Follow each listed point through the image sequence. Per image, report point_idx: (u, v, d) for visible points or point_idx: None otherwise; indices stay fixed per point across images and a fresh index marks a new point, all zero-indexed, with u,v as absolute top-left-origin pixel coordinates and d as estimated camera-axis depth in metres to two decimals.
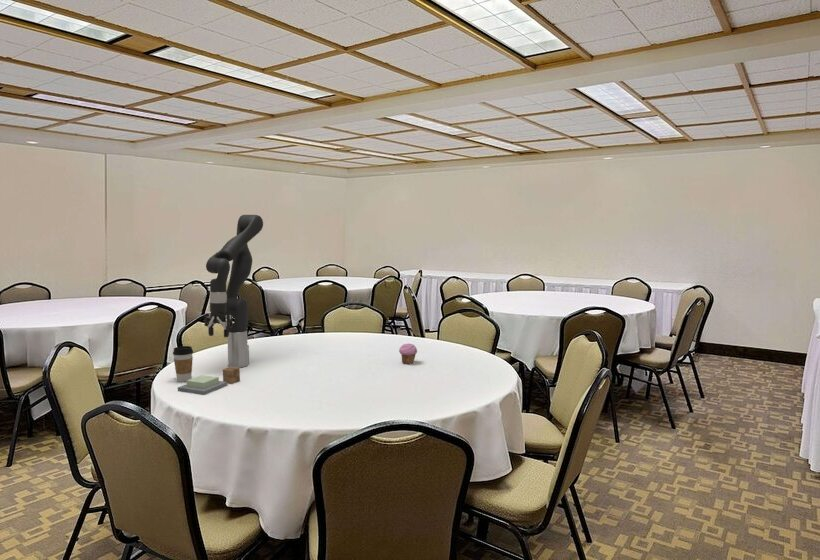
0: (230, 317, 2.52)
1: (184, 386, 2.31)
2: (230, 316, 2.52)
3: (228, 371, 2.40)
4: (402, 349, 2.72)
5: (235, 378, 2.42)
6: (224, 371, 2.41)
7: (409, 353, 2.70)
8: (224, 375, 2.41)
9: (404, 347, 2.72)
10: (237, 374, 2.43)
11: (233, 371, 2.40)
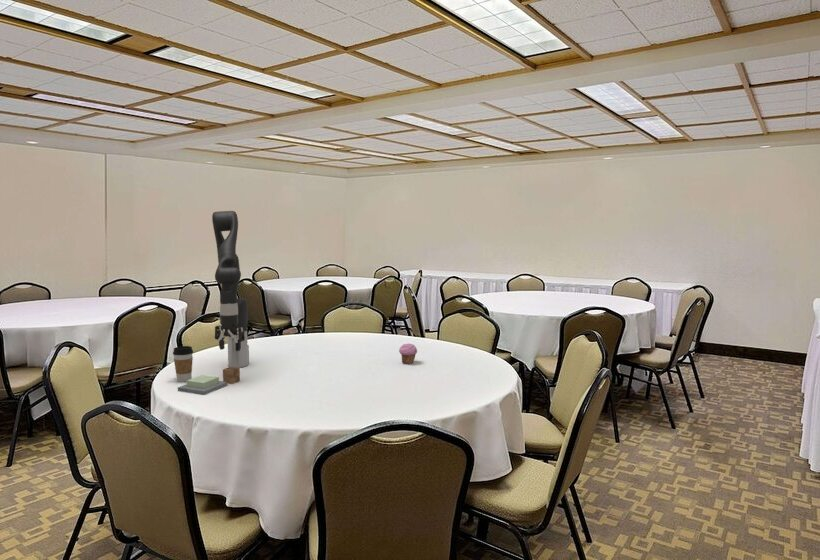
0: (242, 330, 2.38)
1: (184, 386, 2.31)
2: (242, 329, 2.38)
3: (228, 371, 2.40)
4: (402, 349, 2.72)
5: (235, 378, 2.42)
6: (224, 371, 2.41)
7: (409, 353, 2.70)
8: (224, 375, 2.41)
9: (404, 347, 2.72)
10: (237, 374, 2.43)
11: (233, 371, 2.40)
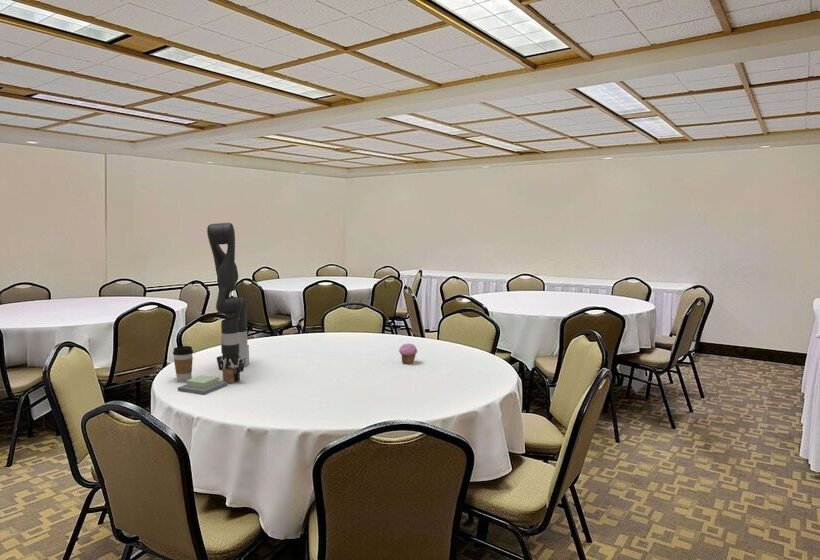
0: (243, 362, 2.40)
1: (184, 386, 2.31)
2: (243, 361, 2.40)
3: (228, 371, 2.40)
4: (402, 349, 2.72)
5: None
6: (224, 371, 2.41)
7: (409, 353, 2.70)
8: (224, 375, 2.41)
9: (404, 347, 2.72)
10: None
11: (233, 371, 2.40)
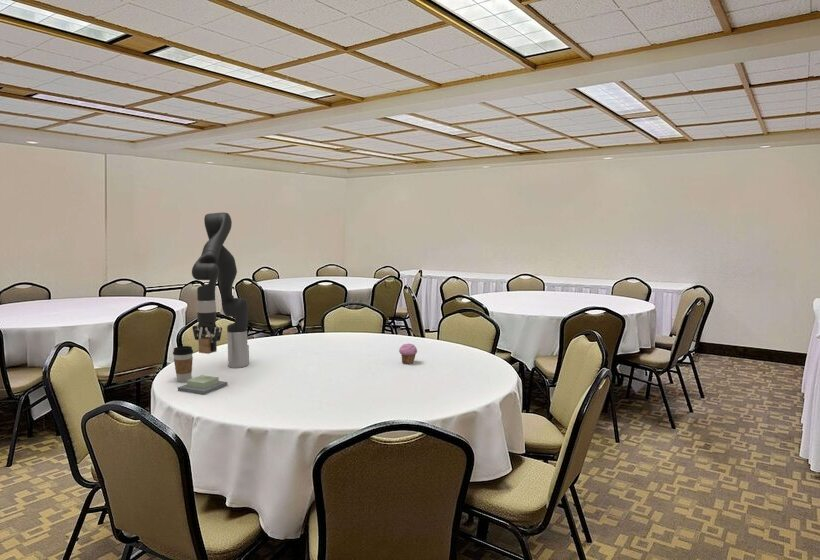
0: (219, 330, 2.30)
1: (184, 386, 2.31)
2: (220, 329, 2.30)
3: (204, 340, 2.31)
4: (402, 349, 2.72)
5: None
6: (200, 340, 2.31)
7: (409, 353, 2.70)
8: (200, 344, 2.32)
9: (404, 347, 2.72)
10: None
11: (209, 340, 2.31)
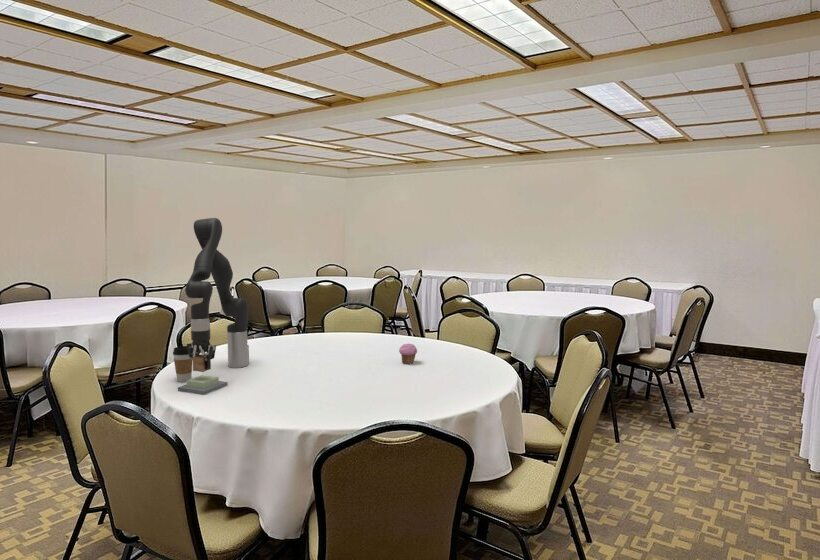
0: (213, 349, 2.30)
1: (184, 386, 2.31)
2: (213, 347, 2.30)
3: (198, 358, 2.30)
4: (402, 349, 2.72)
5: None
6: (194, 358, 2.31)
7: (409, 353, 2.70)
8: (194, 362, 2.31)
9: (404, 347, 2.72)
10: None
11: (203, 358, 2.30)
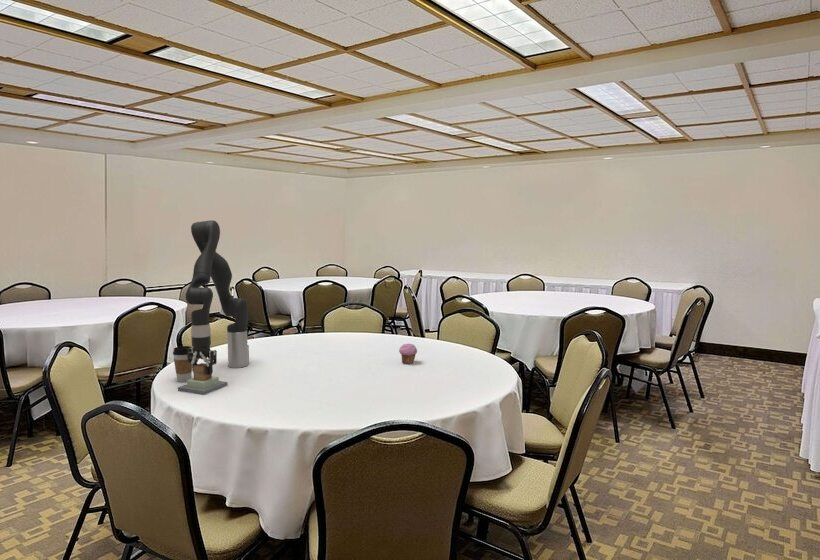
0: (214, 353, 2.30)
1: (184, 386, 2.31)
2: (214, 352, 2.30)
3: (199, 367, 2.30)
4: (402, 349, 2.72)
5: (207, 375, 2.32)
6: (195, 367, 2.31)
7: (409, 353, 2.70)
8: (195, 372, 2.31)
9: (404, 347, 2.72)
10: None
11: (204, 367, 2.31)
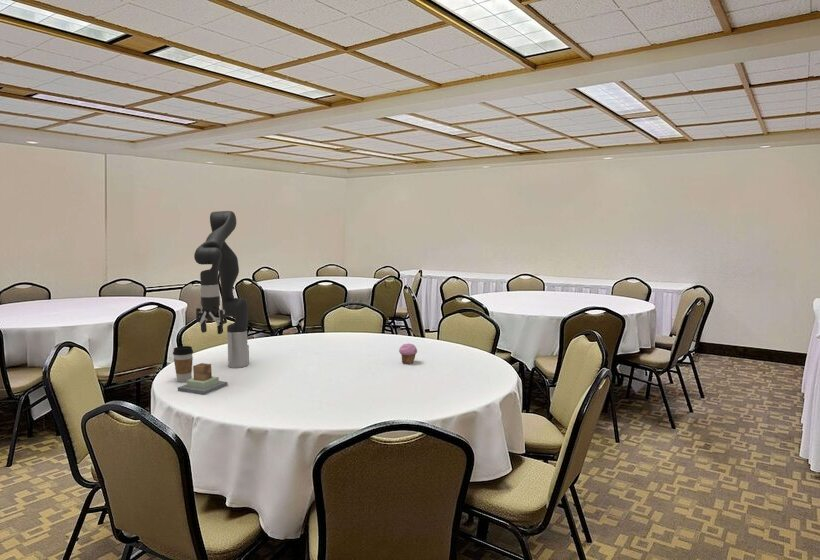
0: (223, 312, 2.30)
1: (184, 386, 2.31)
2: (223, 311, 2.30)
3: (199, 367, 2.30)
4: (402, 349, 2.72)
5: (207, 375, 2.32)
6: (195, 367, 2.31)
7: (409, 353, 2.70)
8: (195, 372, 2.31)
9: (404, 347, 2.72)
10: (208, 371, 2.33)
11: (204, 367, 2.31)
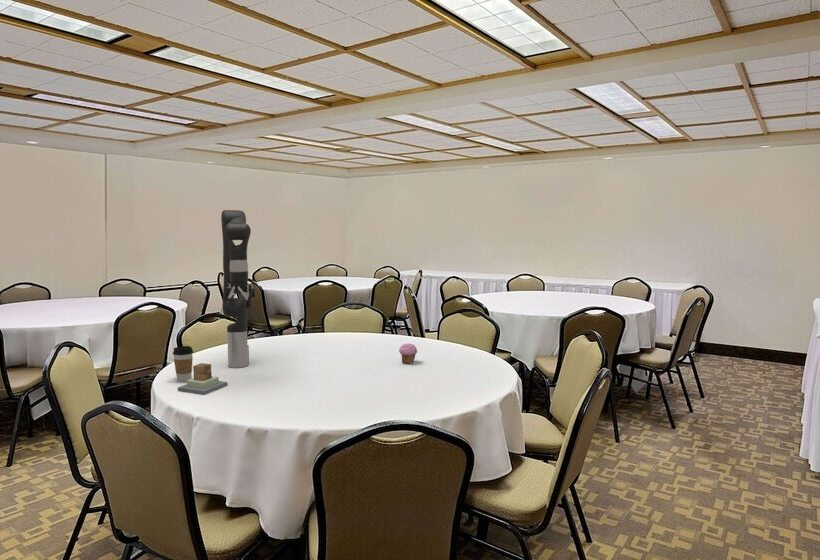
0: (252, 287, 2.35)
1: (184, 386, 2.31)
2: (252, 286, 2.35)
3: (199, 367, 2.30)
4: (402, 349, 2.72)
5: (207, 375, 2.32)
6: (195, 367, 2.31)
7: (409, 353, 2.70)
8: (195, 372, 2.31)
9: (404, 347, 2.72)
10: (208, 371, 2.33)
11: (204, 367, 2.31)
